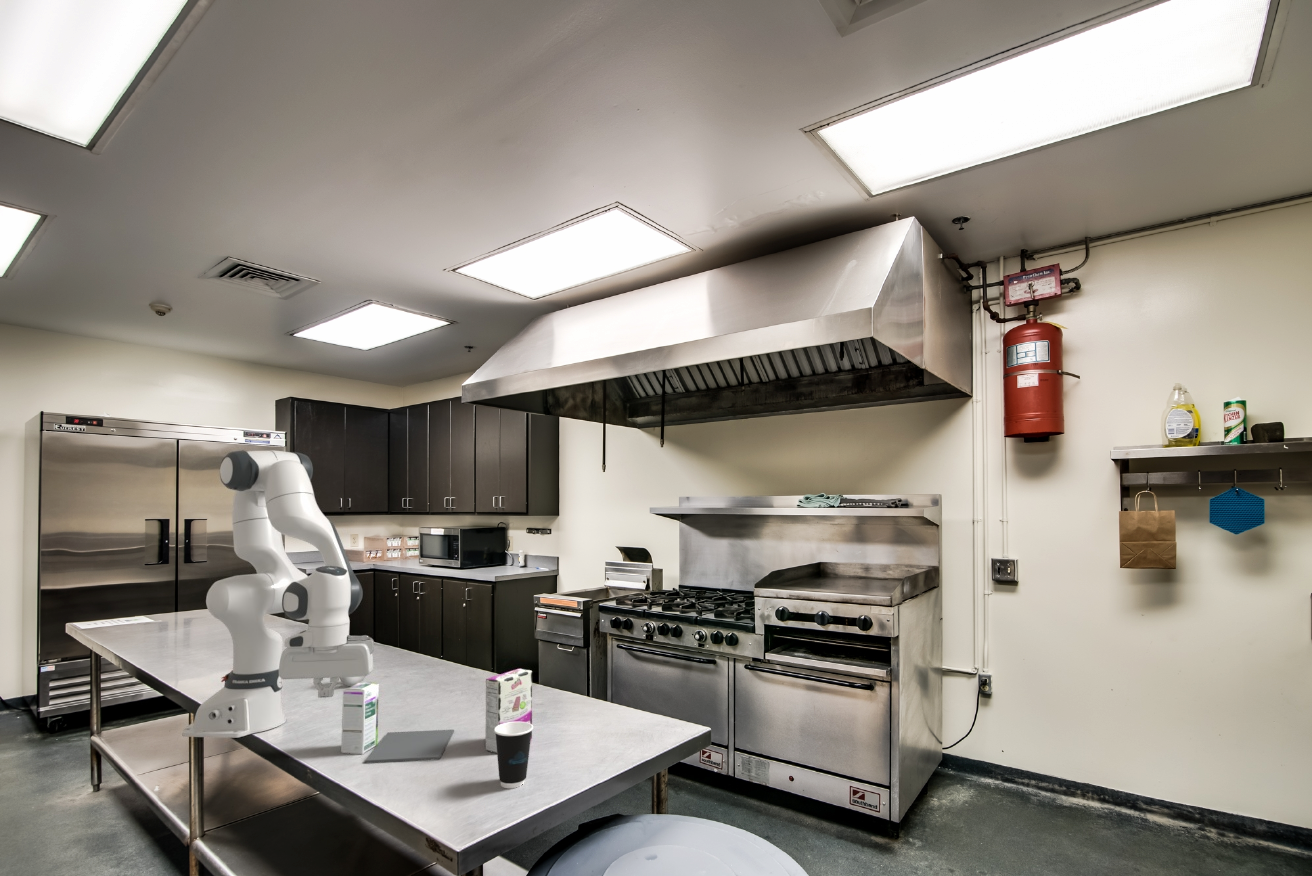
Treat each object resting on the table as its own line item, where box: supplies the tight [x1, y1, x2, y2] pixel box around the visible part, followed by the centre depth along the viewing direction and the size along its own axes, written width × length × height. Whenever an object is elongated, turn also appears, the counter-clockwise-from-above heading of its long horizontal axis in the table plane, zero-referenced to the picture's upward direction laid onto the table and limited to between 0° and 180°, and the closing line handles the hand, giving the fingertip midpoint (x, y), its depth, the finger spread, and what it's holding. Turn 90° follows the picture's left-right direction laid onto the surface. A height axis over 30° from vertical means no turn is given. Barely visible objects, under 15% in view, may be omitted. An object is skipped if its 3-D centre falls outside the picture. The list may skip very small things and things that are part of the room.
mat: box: [364, 729, 455, 764], centre depth 153 cm, size 16×18×1 cm
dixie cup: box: [494, 722, 534, 789], centre depth 133 cm, size 8×8×11 cm
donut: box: [339, 676, 367, 687], centre depth 206 cm, size 10×4×10 cm, turn 152°
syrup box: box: [340, 681, 380, 755], centre depth 153 cm, size 6×6×14 cm
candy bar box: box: [484, 668, 533, 754], centre depth 155 cm, size 11×5×16 cm, turn 148°
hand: (325, 696), depth 152 cm, fingers closed
